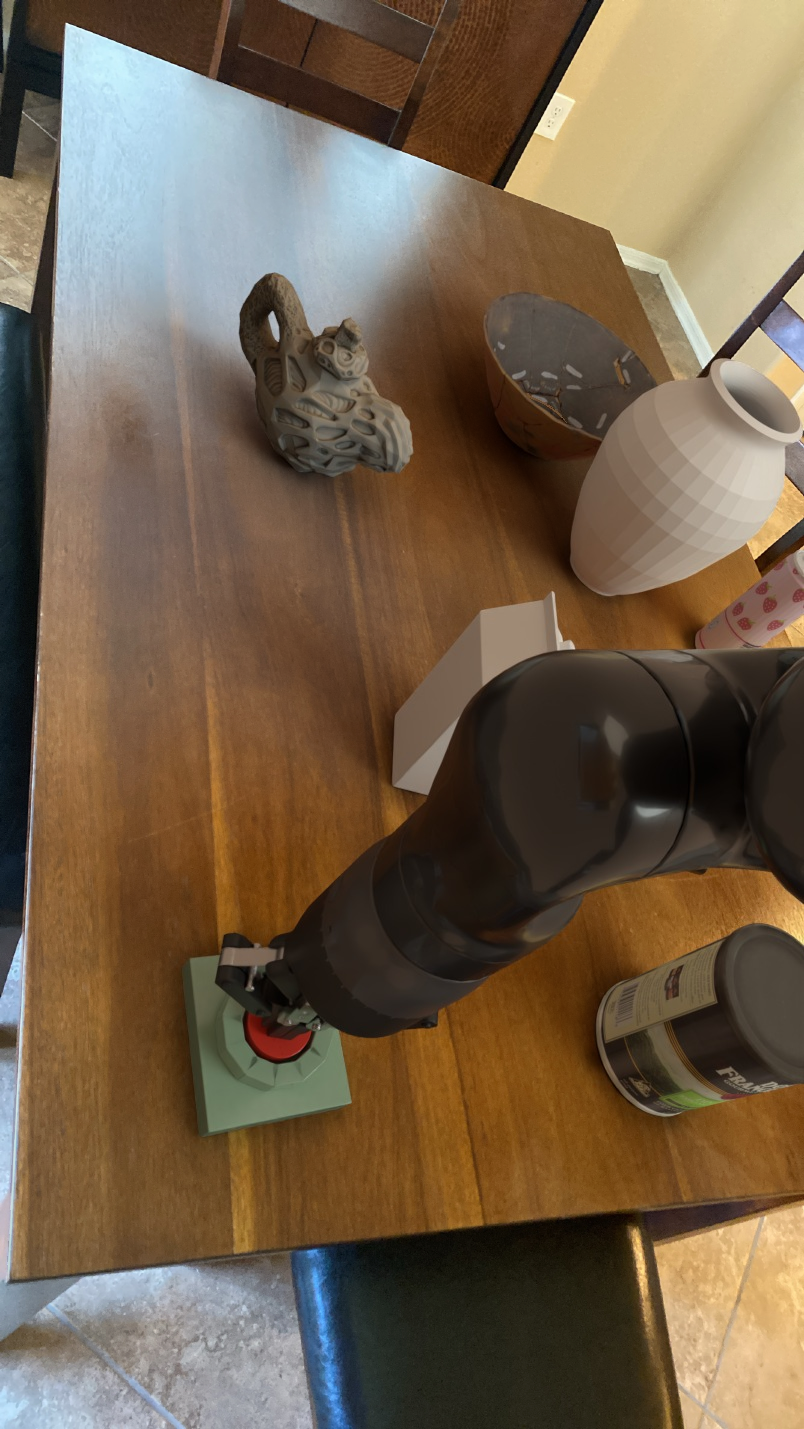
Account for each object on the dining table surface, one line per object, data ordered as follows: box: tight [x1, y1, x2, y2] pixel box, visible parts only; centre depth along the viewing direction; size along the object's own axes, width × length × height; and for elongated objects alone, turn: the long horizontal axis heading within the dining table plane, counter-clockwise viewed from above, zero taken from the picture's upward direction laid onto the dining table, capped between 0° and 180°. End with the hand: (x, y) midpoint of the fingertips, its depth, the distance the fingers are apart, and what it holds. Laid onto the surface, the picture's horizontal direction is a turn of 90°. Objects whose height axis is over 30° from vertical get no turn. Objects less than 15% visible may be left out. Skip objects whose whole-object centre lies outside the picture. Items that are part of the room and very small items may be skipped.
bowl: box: [482, 291, 659, 463], centre depth 103 cm, size 25×25×10 cm
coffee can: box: [595, 922, 804, 1117], centre depth 62 cm, size 10×10×14 cm
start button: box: [242, 1010, 311, 1064], centre depth 53 cm, size 4×4×2 cm
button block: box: [181, 954, 353, 1138], centre depth 54 cm, size 10×9×4 cm
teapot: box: [238, 272, 414, 478], centre depth 80 cm, size 21×12×15 cm, turn 53°
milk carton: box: [391, 590, 576, 796], centre depth 66 cm, size 7×7×19 cm
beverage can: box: [694, 549, 804, 649], centre depth 93 cm, size 6×6×15 cm
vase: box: [569, 358, 804, 597], centre depth 88 cm, size 18×18×25 cm
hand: (280, 1021), depth 52 cm, fingers closed
